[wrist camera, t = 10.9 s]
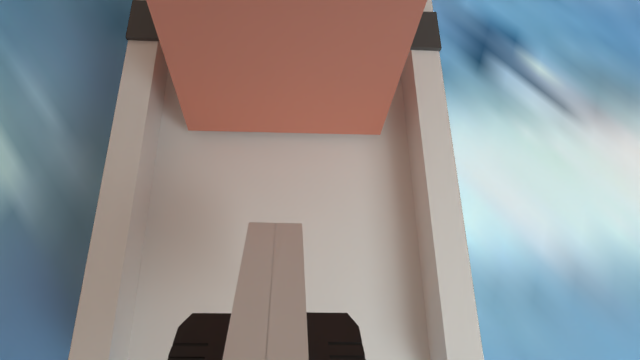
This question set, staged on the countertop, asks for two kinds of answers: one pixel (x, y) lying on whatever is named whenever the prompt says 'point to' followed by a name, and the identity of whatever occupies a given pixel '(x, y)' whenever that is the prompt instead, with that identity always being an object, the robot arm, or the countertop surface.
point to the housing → (278, 217)
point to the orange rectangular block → (286, 62)
